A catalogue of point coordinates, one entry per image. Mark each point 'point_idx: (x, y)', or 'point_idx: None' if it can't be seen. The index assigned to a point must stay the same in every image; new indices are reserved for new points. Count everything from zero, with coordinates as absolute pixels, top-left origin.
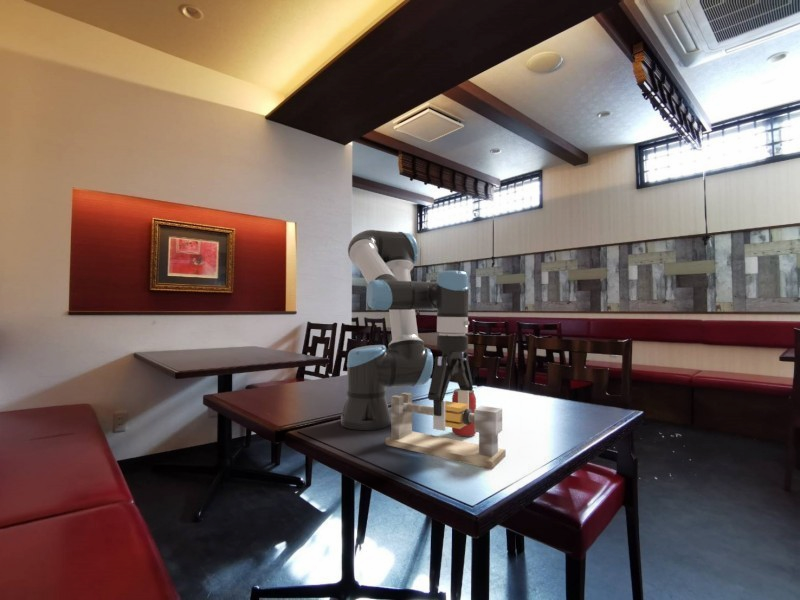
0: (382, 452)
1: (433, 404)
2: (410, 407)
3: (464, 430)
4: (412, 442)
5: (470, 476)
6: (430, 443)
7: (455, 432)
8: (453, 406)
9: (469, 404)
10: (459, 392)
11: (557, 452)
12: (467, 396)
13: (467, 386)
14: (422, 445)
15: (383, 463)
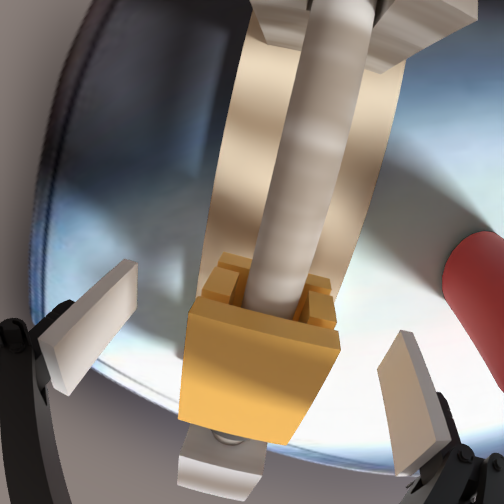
0: (177, 31)
1: (53, 323)
2: (303, 49)
3: (448, 290)
4: (252, 109)
5: (128, 322)
6: (268, 185)
7: (457, 249)
8: (194, 398)
9: (491, 371)
10: (427, 434)
11: (343, 452)
12: (392, 450)
13: (404, 499)
14: (230, 161)
15: (97, 85)
